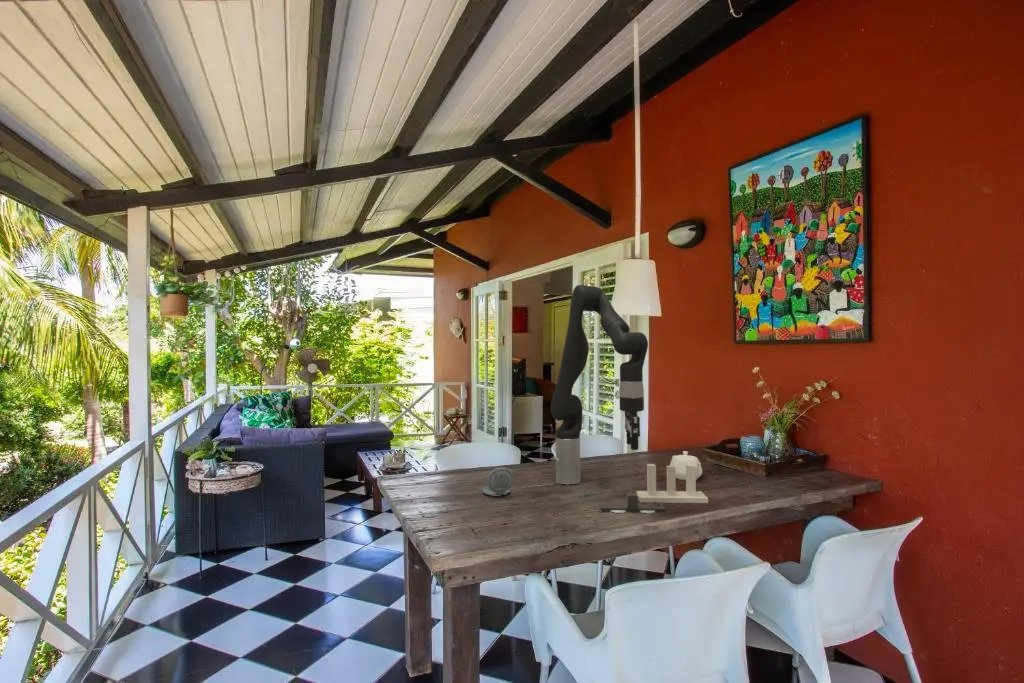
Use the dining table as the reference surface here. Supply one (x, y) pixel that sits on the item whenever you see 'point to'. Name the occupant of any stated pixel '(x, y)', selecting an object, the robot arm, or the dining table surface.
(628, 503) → the spectacle frame
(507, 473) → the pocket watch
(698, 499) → the display stand
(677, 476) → the teapot
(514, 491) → the dining table surface
